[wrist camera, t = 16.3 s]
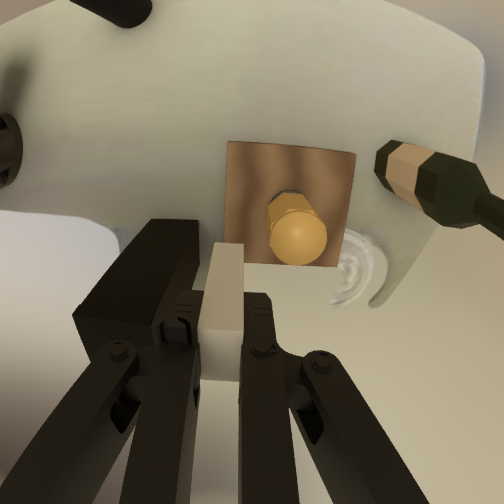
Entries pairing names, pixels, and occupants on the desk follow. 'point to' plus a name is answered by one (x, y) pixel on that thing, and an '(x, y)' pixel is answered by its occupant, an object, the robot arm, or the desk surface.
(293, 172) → the walnut board
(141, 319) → the black pillar candle
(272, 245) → the ochre cap
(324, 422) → the robot arm
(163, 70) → the desk surface
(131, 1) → the wine bottle
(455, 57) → the desk surface
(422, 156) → the labelled green bottle
